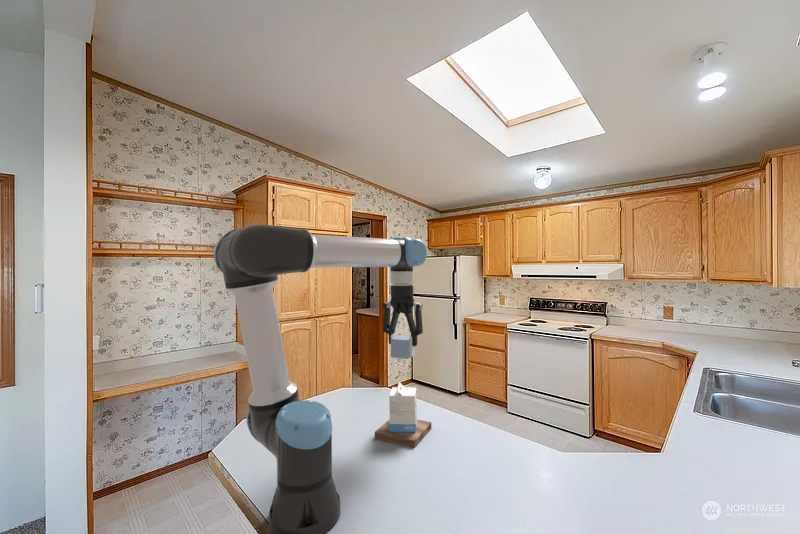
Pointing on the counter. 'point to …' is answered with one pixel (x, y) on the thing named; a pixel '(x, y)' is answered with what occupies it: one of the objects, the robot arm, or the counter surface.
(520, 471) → the counter surface
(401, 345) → the cube
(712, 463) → the counter surface
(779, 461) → the counter surface
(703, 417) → the counter surface
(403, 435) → the board
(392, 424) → the ink box
